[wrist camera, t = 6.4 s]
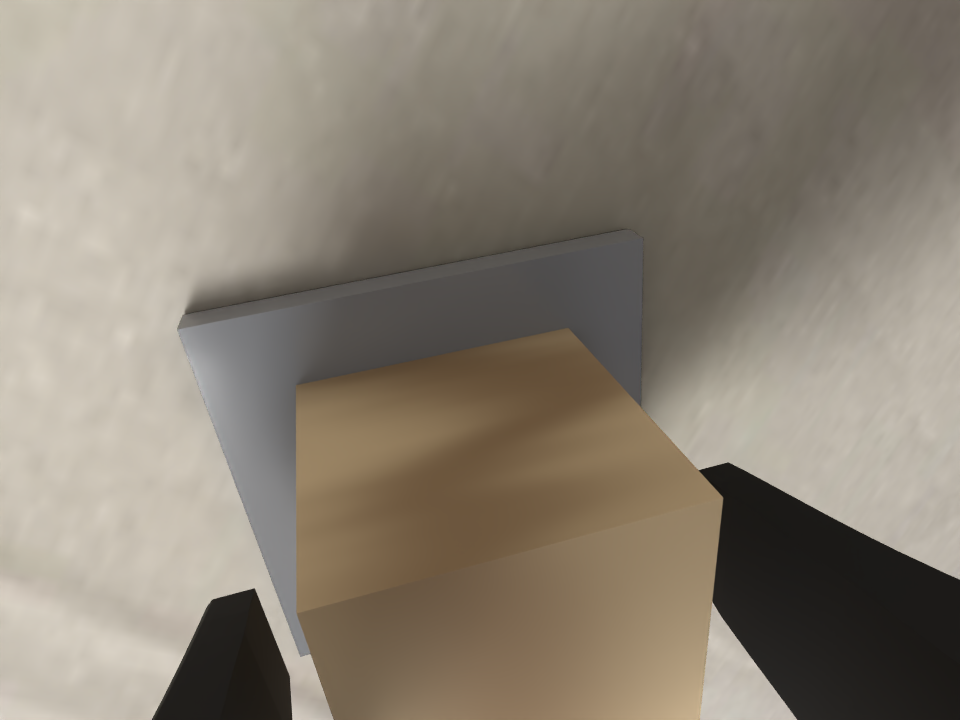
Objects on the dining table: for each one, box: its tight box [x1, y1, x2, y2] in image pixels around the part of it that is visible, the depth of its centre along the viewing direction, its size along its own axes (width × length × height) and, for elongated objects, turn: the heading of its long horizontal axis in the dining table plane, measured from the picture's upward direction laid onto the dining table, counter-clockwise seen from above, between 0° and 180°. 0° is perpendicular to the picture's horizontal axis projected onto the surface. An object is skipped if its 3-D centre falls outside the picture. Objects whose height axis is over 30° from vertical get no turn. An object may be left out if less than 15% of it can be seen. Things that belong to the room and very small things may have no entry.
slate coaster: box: [177, 229, 643, 657], centre depth 13 cm, size 8×8×1 cm
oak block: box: [296, 328, 723, 720], centre depth 11 cm, size 5×5×5 cm
